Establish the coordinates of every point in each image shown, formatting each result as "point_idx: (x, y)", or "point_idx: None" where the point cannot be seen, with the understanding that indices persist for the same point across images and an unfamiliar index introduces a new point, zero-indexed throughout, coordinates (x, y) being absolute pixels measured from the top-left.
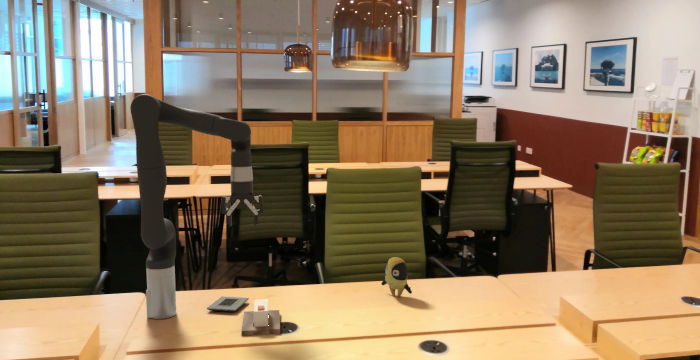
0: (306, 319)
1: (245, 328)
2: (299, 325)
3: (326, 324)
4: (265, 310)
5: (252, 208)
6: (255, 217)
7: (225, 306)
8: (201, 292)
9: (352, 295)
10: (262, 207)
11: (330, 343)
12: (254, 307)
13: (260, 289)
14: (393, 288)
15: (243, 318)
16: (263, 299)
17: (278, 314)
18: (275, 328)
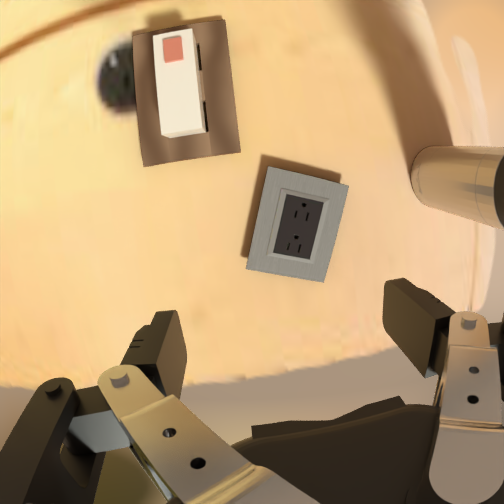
0: (80, 134)
1: (217, 32)
2: (93, 92)
3: (41, 108)
4: (159, 38)
5: (144, 410)
6: (143, 349)
7: (300, 193)
8: (373, 336)
9: (17, 307)
10: (20, 421)
11: (45, 16)
12: (194, 58)
13: (231, 363)
14: None
15: (233, 98)
16: (175, 130)
17: (141, 131)
18: (143, 36)
